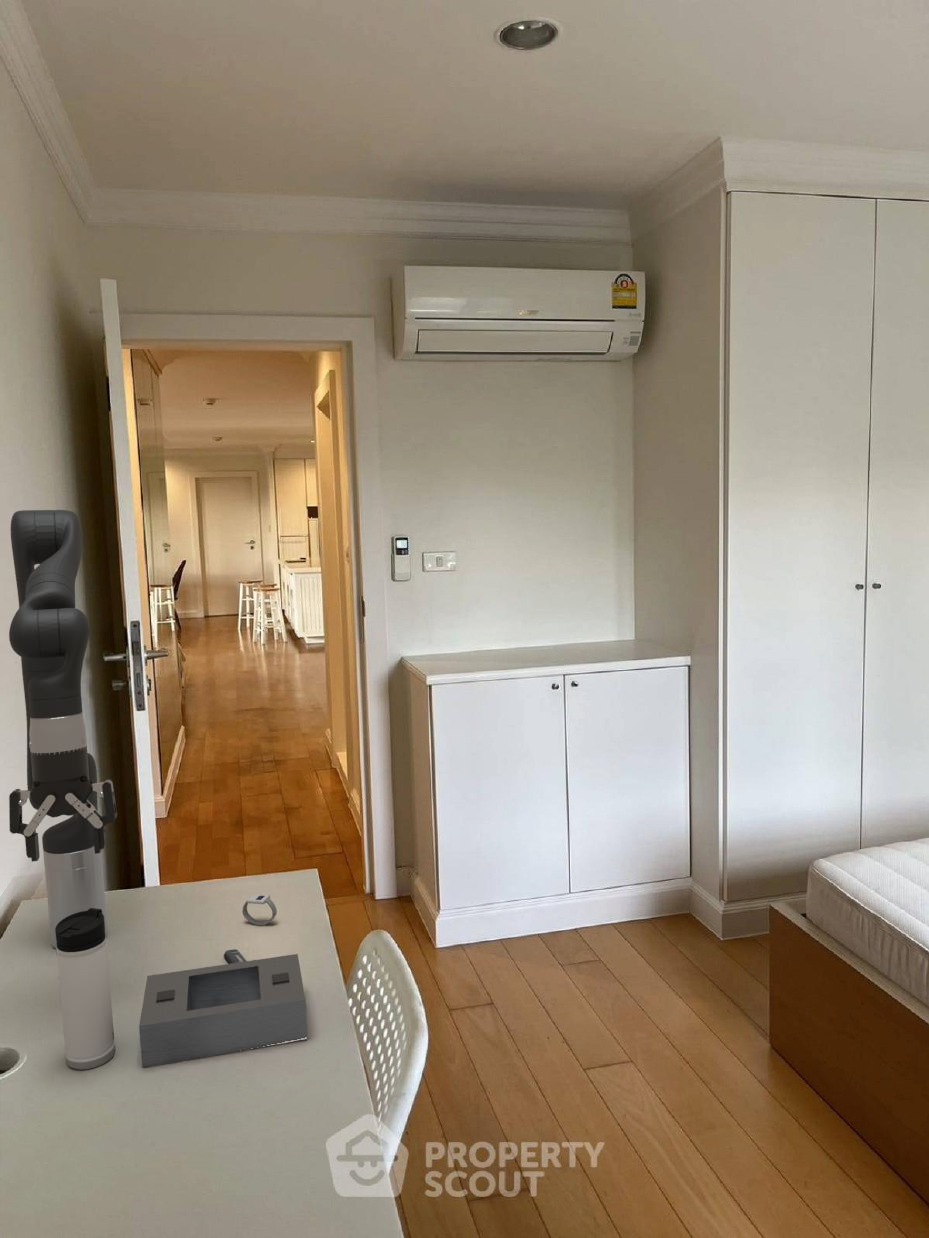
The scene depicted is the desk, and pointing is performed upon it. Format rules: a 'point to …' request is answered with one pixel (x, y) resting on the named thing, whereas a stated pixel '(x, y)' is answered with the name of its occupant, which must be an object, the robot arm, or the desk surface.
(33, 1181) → the desk surface
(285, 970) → the grey slotted block
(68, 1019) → the travel mug
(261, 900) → the wristwatch
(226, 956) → the usb stick
